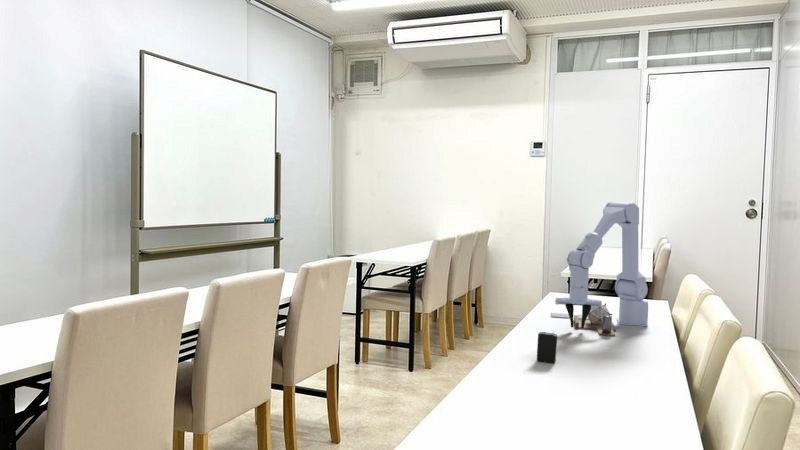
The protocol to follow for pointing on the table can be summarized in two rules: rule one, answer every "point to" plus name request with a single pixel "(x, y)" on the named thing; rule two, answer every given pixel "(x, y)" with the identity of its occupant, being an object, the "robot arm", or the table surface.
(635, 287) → the robot arm
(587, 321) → the brown base with post
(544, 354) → the ink cartridge
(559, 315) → the broken grey strip
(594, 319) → the game die
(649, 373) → the table surface
